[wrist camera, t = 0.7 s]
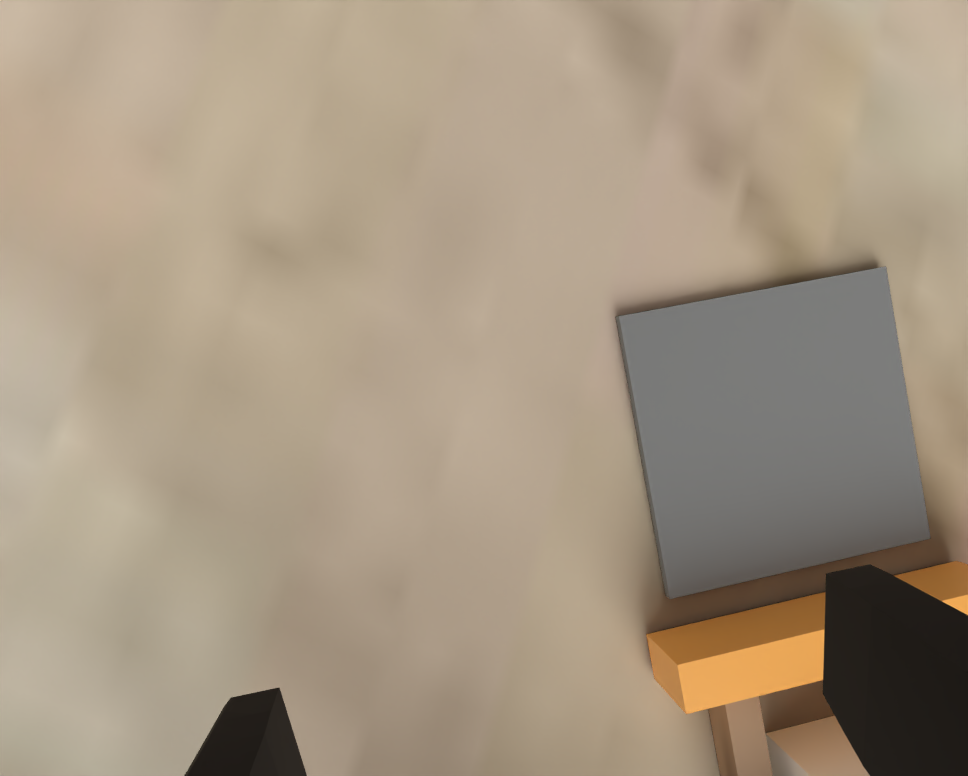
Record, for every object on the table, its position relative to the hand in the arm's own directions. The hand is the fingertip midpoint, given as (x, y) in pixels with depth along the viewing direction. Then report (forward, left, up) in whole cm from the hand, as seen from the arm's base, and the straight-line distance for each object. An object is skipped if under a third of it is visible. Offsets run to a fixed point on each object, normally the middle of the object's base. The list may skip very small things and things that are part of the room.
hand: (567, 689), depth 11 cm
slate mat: (0, -12, -17) cm, 21 cm away
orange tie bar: (-7, -12, -17) cm, 22 cm away
